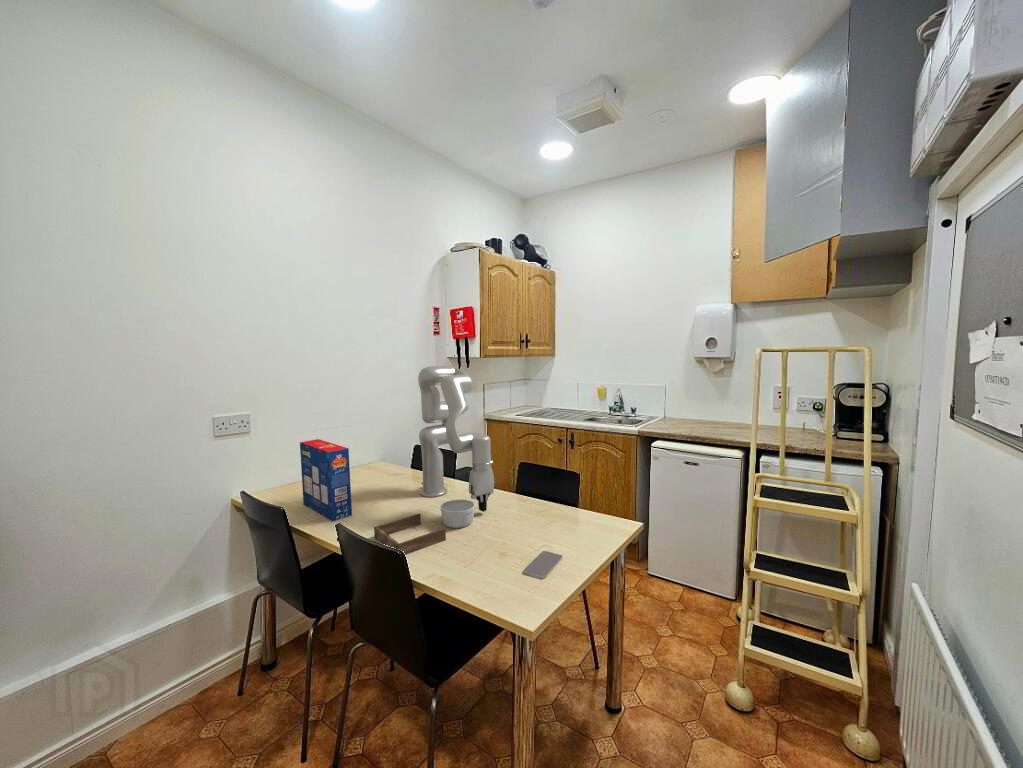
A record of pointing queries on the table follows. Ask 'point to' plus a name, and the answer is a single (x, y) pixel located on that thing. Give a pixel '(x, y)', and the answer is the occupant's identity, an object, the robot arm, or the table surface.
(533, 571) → the smartphone
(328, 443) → the blue cardboard box
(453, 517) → the ramekin
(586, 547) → the table surface
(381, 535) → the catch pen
